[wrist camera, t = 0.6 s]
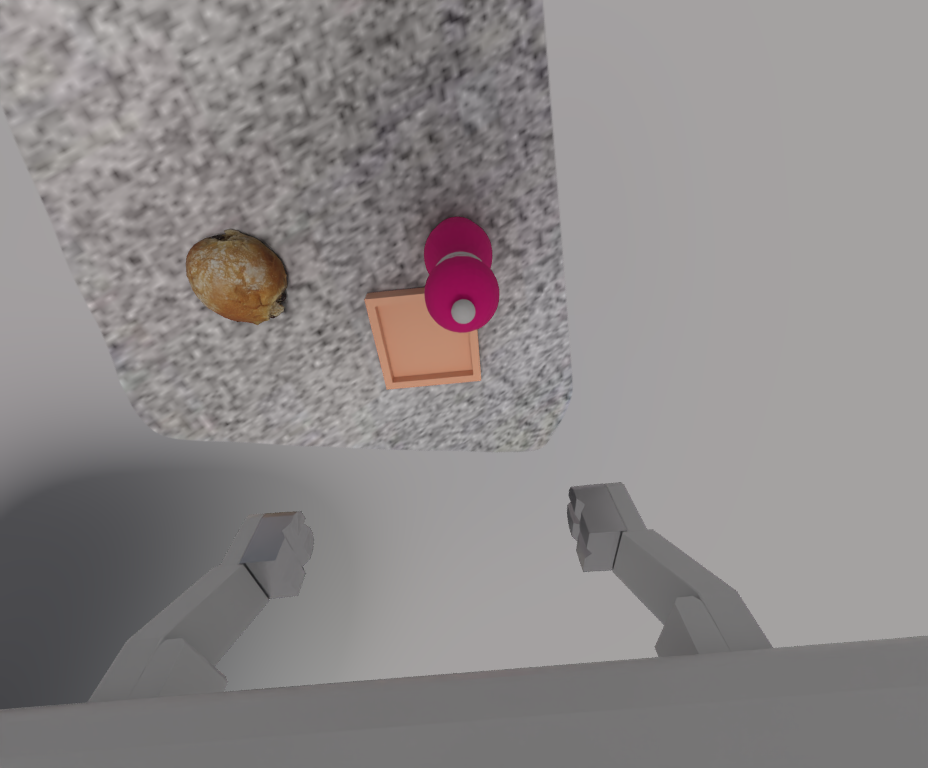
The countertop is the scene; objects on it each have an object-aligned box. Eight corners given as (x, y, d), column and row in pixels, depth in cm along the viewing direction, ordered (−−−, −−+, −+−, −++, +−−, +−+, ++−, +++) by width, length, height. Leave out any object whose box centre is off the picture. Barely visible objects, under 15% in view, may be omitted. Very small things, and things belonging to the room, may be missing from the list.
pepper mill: (487, 208, 41) (514, 260, 24) (489, 273, 45) (514, 356, 28) (421, 214, 41) (404, 270, 24) (430, 279, 45) (420, 364, 28)
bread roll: (282, 228, 45) (237, 209, 37) (309, 313, 46) (271, 311, 38) (210, 252, 46) (151, 237, 38) (238, 333, 47) (187, 335, 39)
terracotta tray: (367, 292, 46) (364, 299, 44) (473, 282, 45) (474, 288, 44) (388, 380, 53) (386, 389, 51) (479, 372, 53) (481, 380, 51)
